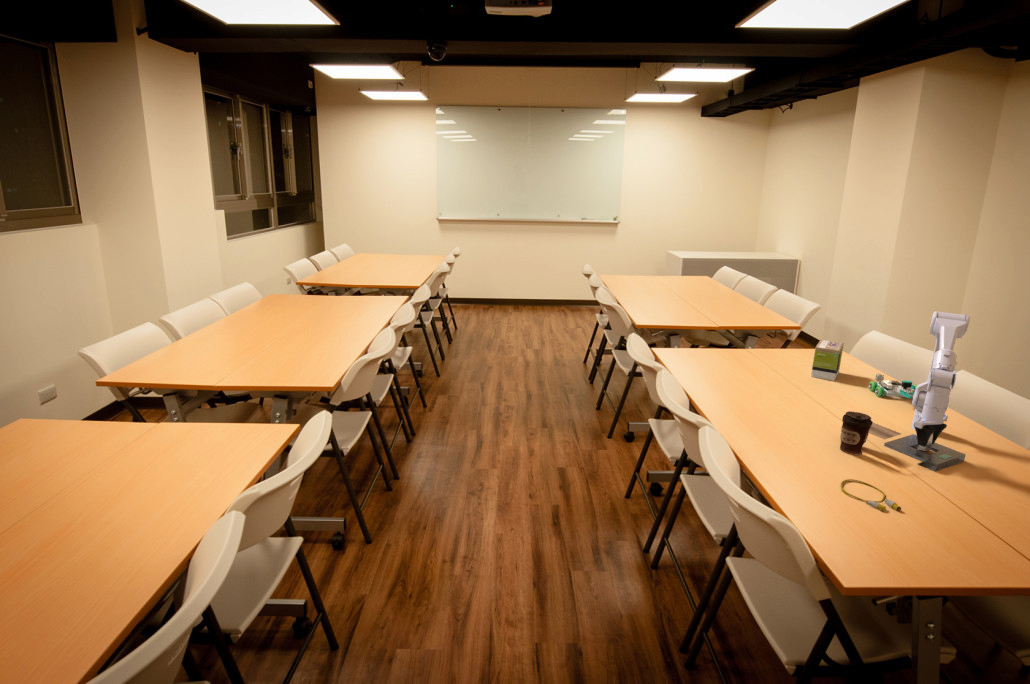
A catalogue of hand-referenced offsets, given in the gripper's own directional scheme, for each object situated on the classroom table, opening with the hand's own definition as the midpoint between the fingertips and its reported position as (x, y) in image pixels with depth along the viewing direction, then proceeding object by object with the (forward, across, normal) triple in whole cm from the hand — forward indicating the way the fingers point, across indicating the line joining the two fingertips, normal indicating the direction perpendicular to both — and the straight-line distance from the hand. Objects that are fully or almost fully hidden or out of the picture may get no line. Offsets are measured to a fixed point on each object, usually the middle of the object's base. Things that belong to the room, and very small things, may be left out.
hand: (925, 444), depth 181 cm
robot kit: (+5, -45, -33) cm, 56 cm away
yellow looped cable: (+5, +41, +8) cm, 42 cm away
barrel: (+2, 0, 0) cm, 2 cm away
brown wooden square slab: (+4, -2, -16) cm, 17 cm away
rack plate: (+4, 0, 0) cm, 4 cm away
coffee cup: (+4, +19, -12) cm, 23 cm away
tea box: (+4, -43, -66) cm, 79 cm away
